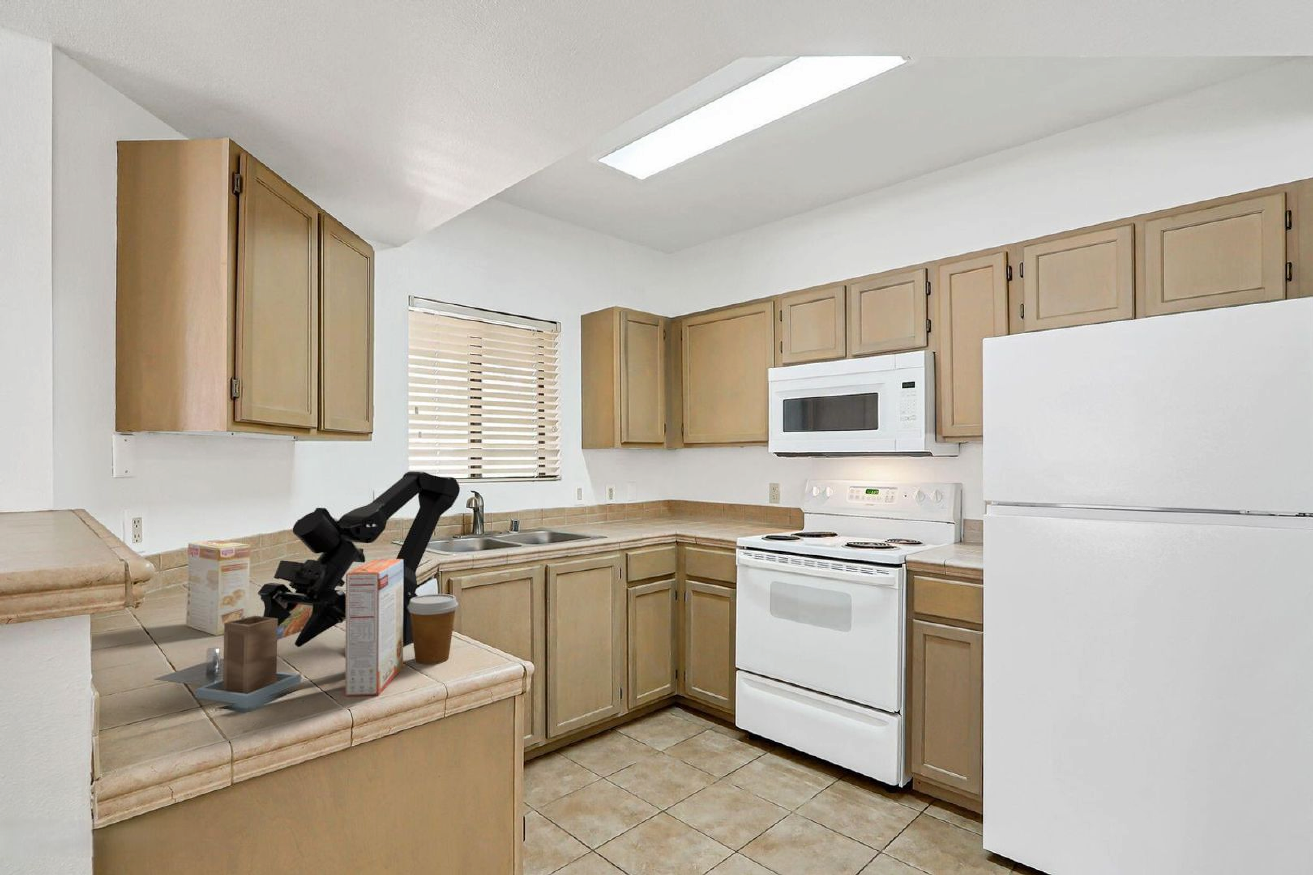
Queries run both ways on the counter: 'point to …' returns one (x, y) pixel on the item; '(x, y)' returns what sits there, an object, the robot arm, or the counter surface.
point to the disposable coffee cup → (432, 626)
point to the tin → (295, 621)
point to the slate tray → (252, 699)
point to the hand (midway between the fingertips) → (277, 642)
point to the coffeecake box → (217, 584)
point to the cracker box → (373, 626)
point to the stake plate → (200, 671)
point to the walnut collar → (250, 654)
